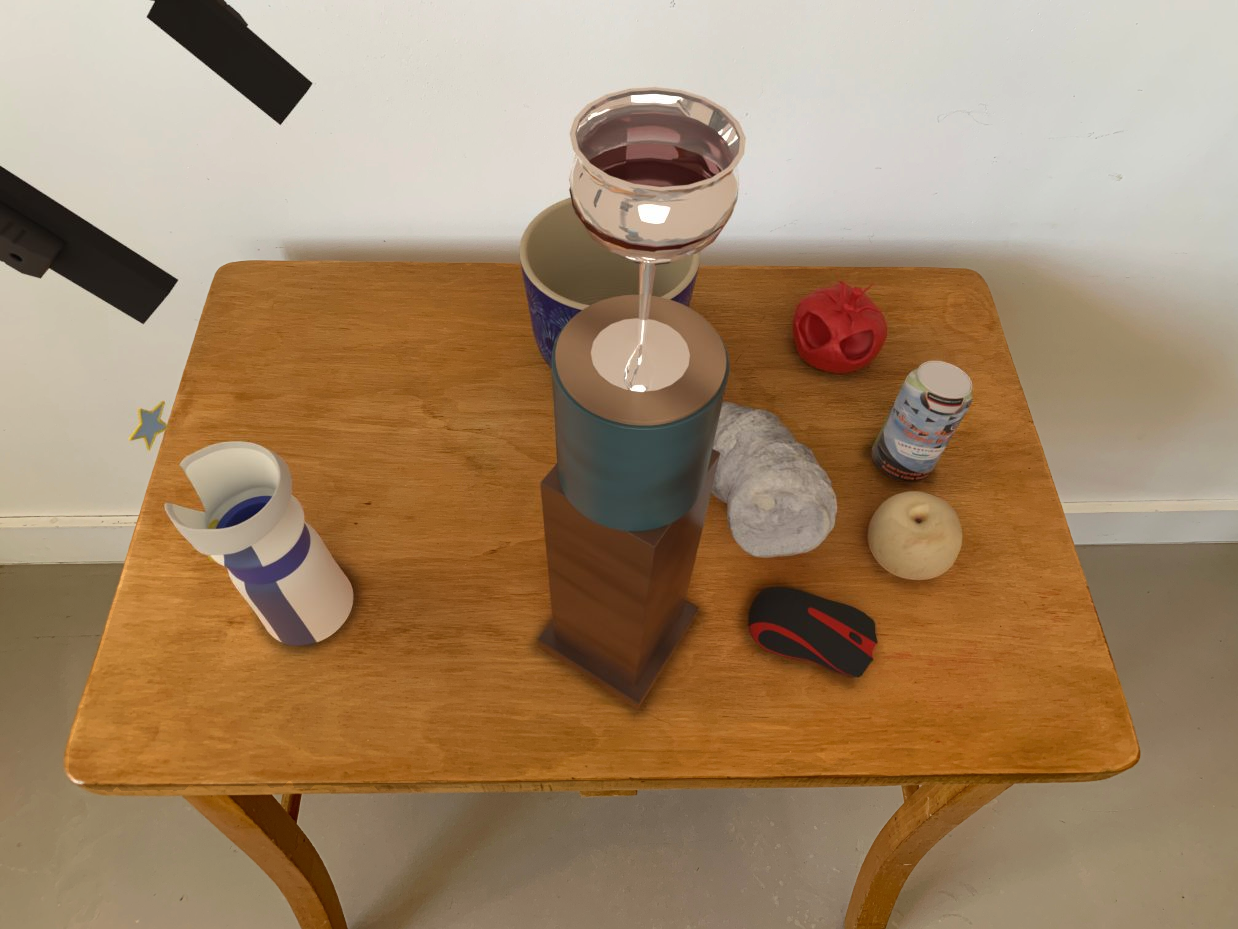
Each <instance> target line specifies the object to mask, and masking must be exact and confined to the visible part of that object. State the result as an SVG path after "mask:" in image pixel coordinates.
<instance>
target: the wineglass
mask: <svg viewBox="0 0 1238 929" xmlns="http://www.w3.org/2000/svg"><path fill="white" fill-rule="evenodd" d="M569 137H570V142H571V146H572V150H573V152H574V153H575V154H574V157H573V161H572V164H571V168H570V172H569V177H568V182H569V189H568V191H569V195H570V198H571V201H572V206H573V209H574V211H575V213H576V215H577V216H578V218H579V220H580V222H581V224H582V226H583V227H584V229H585V230H586V231H587V233H588V234H589V236H590V237H591V238H592V239H593V240H594V241H596V242H597V243H598V244H600V245H601V246H603V247H604V248H606V249H607V250H609V251H610V252H612V253H614V254H615V255H617V256H619V257H620V258H623V259H625V260H628V261H631V262H634V263H637V264H639V299H638V318H635V319H625V320H622V321H619V322H616V323H613V324H611V325H609V326H608V327H607V328H605V329H604V330H602V331H601V332H600V333H599V334H598V336H597V337H596V339H595V340H594V341H593V345H592V350H591V356H592V362H593V365H594V367H595V368H596V370H597V371H598V373H599V374H600V375H601V376H602V377H603V378H604V379H606V380H607V381H608V382H610V383H611V384H613V385H615V386H618V387H620V388H623V389H625V390H631V391H639V392H645V391H655V390H659V389H662V388H665V387H667V386H670V385H672V384H673V383H674V382H676V381H677V380H678V379H680V378H681V377H682V376H683V374H684V373H685V371H686V369H687V368H688V366H689V358H690V353H689V349H688V346H687V343H686V342H685V340H684V339H683V338H682V336H681V335H680V334H679V333H678V332H677V331H675V330H674V329H673V328H671V327H670V326H668V325H666V324H663V323H661V322H658V321H656V320H650V319H648V318H649V311H650V304H651V297H652V290H653V283H654V276H655V269H656V265H661V264H669V263H672V262H675V261H678V260H681V259H683V258H686V257H688V256H691V255H693V254H696V253H698V252H700V253H701V251H703V250H704V249H706V248H707V247H709V246H710V245H712V244H713V243H714V242H716V240H717V239H718V237H719V236H720V234H721V232H722V231H723V229H724V228H725V227H726V225H727V223H728V222H729V221H730V219H731V218H732V215H733V213H734V210H735V208H736V205H737V203H738V197H739V189H740V175H739V169H738V166H737V165H738V164H739V163H740V161H741V160H742V158H743V157H744V155H745V150H746V140H747V137H746V135H745V133H744V130H743V128H742V126H741V124H740V121H739V120H737V119H736V118H735V117H734V116H733V115H732V114H731V113H730V112H729V111H728V110H727V109H726V108H725V107H724V106H722V105H720V104H718V103H716V102H715V101H712V100H710V99H709V98H707V97H705V96H702V95H699V94H695V93H692V92H689V91H686V90H682V89H674V88H666V87H659V86H658V87H657V86H652V87H649V86H648V87H634V88H633V87H632V88H626V89H622V90H619V91H615V92H611V93H606V94H605V95H603V96H601V97H599V98H597V99H595V100H593V101H591V102H589V103H587V104H586V105H585V106H584V107H583V108H582V109H581V110H580V111H579V113H578V114H577V115H576V116H574V119H573V121H572V124H571V127H570V130H569Z"/></svg>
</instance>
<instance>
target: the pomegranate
mask: <svg viewBox="0 0 1238 929" xmlns="http://www.w3.org/2000/svg"><path fill="white" fill-rule="evenodd" d="M835 279H837V281H838V283H837V284H834V285H832V286H826V287H820V288H818V289H815V290H813V291H812V292H811V293H809V294H808V295H806V296H804V297H802V298H801V299H800V300H799V301H798V303H797V305H796V308H795V310H794V313H793V317H792V318H793V319H792V329H791V330H792V331H791V332H792V337H793V340H794V345H795V349H796V351H797V353H798V355H799V357H800V358H801V359H802V360H803V361H804V362H805V363H807V364H808V365H809V366H810V367H813V368H816V369H818V370H821V371H823V372H824V371H825V372H827V373H828V372H829V373H833V374H847V373H848V374H849V373H851V372H856V371H858V370H860V369H862V368H864V367H867V366H868V365H870V364H871V363H872V362H873V361H874V359H875V358H876V357H877V356H878V355H879V353H880V352H881V350H882V349H883V347H884V344H885V342H886V339H887V338H888V324H887V322H886V319H885V316H884V314H883V310H880V308H879V307H878V306H877V305H876V304H875V302H874V301H872V300H871V299H870V298H869V297H868V295H867V294H866V292H868V291H869V290H870V288H872V287H873V286H874V282H873V283H872V284H870V285H868V286H867V287H866V288H865V289H863V288H862V287H857V286H854V287H853V286H851V285H848V284H846V282H845V281H844V280H842V279H839V277H837V276H835Z"/></svg>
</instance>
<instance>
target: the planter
mask: <svg viewBox="0 0 1238 929" xmlns="http://www.w3.org/2000/svg"><path fill="white" fill-rule="evenodd" d="M518 248H519V250H518V252H519V254H518V255H519V262H520V263H519V264H520V267H521V274H522V278H523V284H524V290H525V295H526V301H527V307H528V312H529V318H530V323H531V328H532V332H533V335H534V340H535V343H536V346H537V349H538V351H539V353H540V355H541V357H542V358H543V360H544V361H545V363H546V365H547V366H548V367H549V369H551V370H552V364H551V362H552V351H553V346H554V344H555V341H556V339H557V337H558V335H559V333H560V332H561V330H562V329H563V328H564V326H565V325H566V324H567V323H568V322H569V321H570V320H571V319H572V318H573V317H574V316H575V315H576V314H578V313H579V312H580V311H582V310H583V309H585V308H587V307H588V306H590V305H592V304H594V303H597V302H599V301H602V300H605V299H609V298H612V297H618V296H624V295H639V264H637V263H634V262H631V261H628V260H625V259H623V258H620V257H619V256H617V255H615V254H614V253H612V252H610V251H609V250H607V249H606V248H604V247H603V246H601V245H600V244H598V243H597V242H596V241H594V240H593V239H592V238H591V237H590V236H589V234H588V233H587V231H586V230H585V229H584V227H583V226H582V224H581V222H580V220H579V218H578V216H577V215H576V213H575V211H574V209H573V206H572V201H571V197H567V198H565V199H562V200H560V201H557V202H555V203H553V204H552V205H550V206H548V207H546V208H545V209H543V210H541V211H540V212H539V213H538V214H537V215H536V216H534V218H533V219H532V220H531V221H530V222H529V224H528V225H527V227H526V228H525V230H524V231H523V233H522V236H521V239H520V242H519V247H518ZM700 264H701V251H700V252H698V253H696V254H693V255H691V256H688V257H686V258H683V259H681V260H678V261H675V262H672V263H669V264H661V265H656V269H655V276H654V283H653V290H652V296H657V297H662V298H666V299H669V300H673V301H676V302H678V303H681V304H683V305H685V306H687V307H689V308H691V302H692V299H693V294H694V289H695V285H696V282H697V277H698V273H699V269H700Z"/></svg>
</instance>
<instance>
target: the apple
mask: <svg viewBox="0 0 1238 929" xmlns="http://www.w3.org/2000/svg"><path fill="white" fill-rule="evenodd" d="M866 536H867V543H868V547H869V549H870V552H871V555H872V556H873V558H874V559H875V561H876V562H877V563H878V564H879V565H880V567H882V568H883V569H885V571H887V572H888V573H890V574H891V575H893V576H895V577H899V578H902V579H905V580H912V581H913V580H914V581H925V580H926V581H927V580H931V579H934V578H937V577H939V576H941V575H943V574H945V573H946V572H947V571H948V570H949V569H950V568H952V566H953V565H954V563H955V562H956V560H957V558H958V556H959V554H960V551H961V549H962V545H963V528H962V524H961V521H960V518H959V516H958V514H957V513H956V511H955V509H954V507H952V506H951V505H950V504H949V502H947V501H946V500H944V499H942V498H941V497H938V496H936V495H934V494H931V493H927V492H924V491H919V490H911V491H910V490H909V491H904V492H900V493H897V494H893V495H892V496H890V497H888V498H886V500H884V501H883V502H882V503H881V504H880V505H879V506H878V507H877V508H876V510H875V512H874V513H873V515H872V517H871V518H870V520H869V522H868V527H867V535H866Z"/></svg>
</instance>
